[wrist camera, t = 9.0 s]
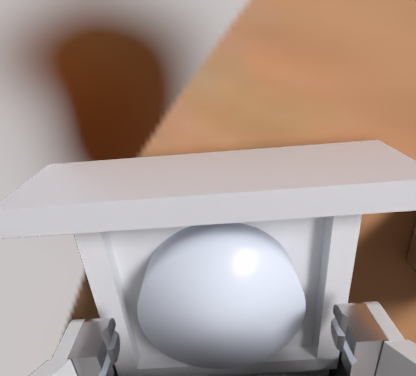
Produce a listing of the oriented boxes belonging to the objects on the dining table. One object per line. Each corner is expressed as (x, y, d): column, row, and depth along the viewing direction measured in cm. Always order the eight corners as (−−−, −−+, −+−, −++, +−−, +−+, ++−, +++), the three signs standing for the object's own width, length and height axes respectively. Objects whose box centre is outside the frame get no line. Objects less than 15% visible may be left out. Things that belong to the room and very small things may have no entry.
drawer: (339, 371, 18) (369, 447, 14) (118, 384, 18) (99, 460, 15) (378, 139, 12) (446, 177, 8) (48, 164, 12) (-11, 210, 9)
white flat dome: (297, 214, 12) (311, 239, 10) (291, 331, 14) (301, 363, 13) (131, 227, 12) (121, 253, 10) (156, 340, 15) (151, 373, 13)
